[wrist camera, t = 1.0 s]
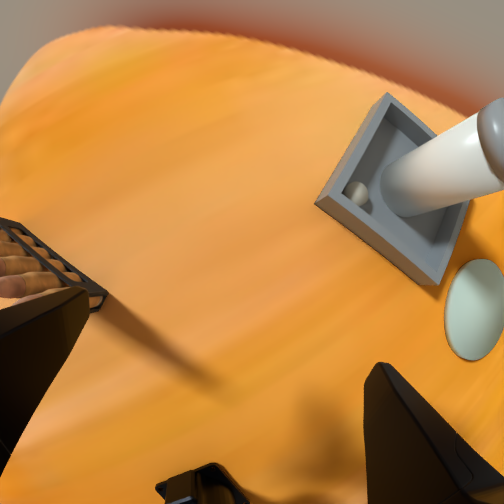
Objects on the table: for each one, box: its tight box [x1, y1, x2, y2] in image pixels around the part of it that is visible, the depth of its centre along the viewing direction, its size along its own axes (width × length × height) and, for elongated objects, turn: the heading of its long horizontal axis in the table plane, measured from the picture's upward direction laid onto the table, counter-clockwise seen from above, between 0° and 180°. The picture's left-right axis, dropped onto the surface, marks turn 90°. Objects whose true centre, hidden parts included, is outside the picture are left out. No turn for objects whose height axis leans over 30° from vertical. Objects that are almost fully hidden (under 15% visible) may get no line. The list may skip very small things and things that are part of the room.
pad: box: [444, 259, 504, 360], centre depth 27 cm, size 11×11×1 cm
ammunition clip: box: [0, 217, 108, 313], centre depth 16 cm, size 11×2×12 cm, turn 59°
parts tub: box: [314, 92, 470, 285], centre depth 25 cm, size 13×13×3 cm
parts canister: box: [380, 98, 504, 217], centre depth 19 cm, size 5×5×14 cm
